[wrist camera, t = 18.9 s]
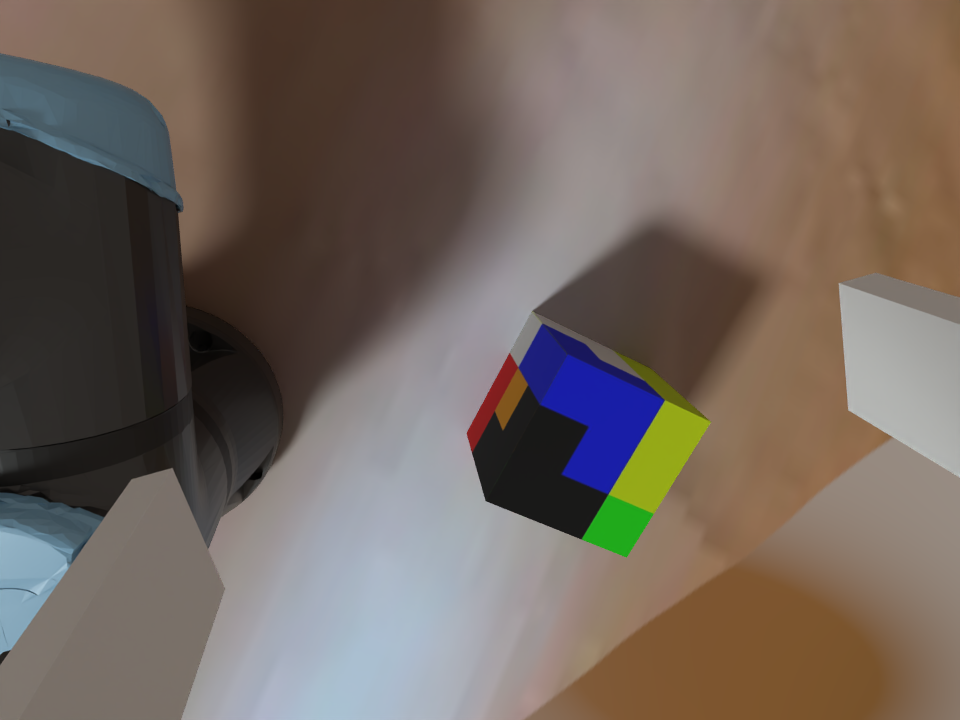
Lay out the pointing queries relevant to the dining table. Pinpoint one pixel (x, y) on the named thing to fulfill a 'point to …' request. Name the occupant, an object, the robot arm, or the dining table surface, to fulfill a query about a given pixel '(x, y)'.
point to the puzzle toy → (581, 436)
